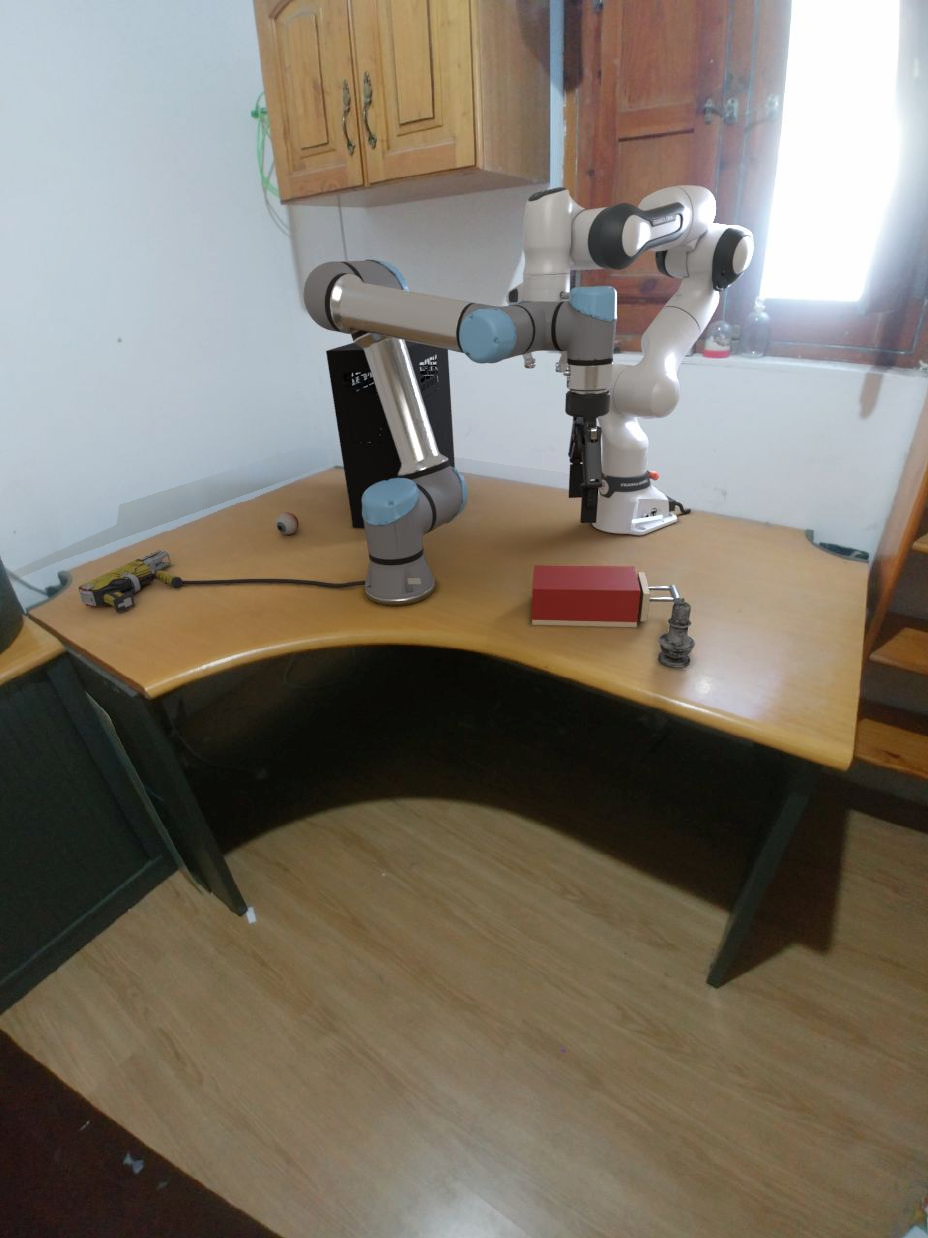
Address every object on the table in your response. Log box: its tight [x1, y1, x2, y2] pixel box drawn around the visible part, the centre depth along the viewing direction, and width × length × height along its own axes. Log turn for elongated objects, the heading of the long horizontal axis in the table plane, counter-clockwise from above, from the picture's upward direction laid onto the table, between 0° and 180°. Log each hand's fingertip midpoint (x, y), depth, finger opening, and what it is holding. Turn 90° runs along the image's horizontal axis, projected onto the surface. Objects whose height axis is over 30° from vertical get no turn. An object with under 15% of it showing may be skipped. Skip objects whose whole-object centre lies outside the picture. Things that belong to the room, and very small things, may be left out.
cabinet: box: [531, 564, 640, 628], centre depth 118 cm, size 20×10×8 cm, turn 82°
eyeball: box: [275, 511, 300, 536], centre depth 163 cm, size 6×6×6 cm
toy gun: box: [78, 549, 183, 614], centre depth 138 cm, size 5×24×15 cm
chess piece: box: [657, 597, 696, 668], centre depth 101 cm, size 6×6×12 cm
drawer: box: [637, 571, 682, 623], centre depth 117 cm, size 25×9×6 cm, turn 82°
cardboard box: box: [325, 340, 456, 529], centre depth 169 cm, size 38×20×45 cm, turn 167°
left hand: (581, 509), depth 113 cm, fingers open, 13 cm apart
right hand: (545, 369), depth 122 cm, fingers open, 8 cm apart
